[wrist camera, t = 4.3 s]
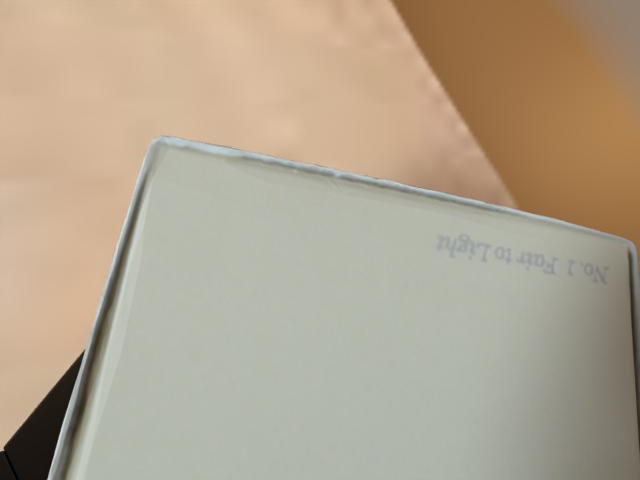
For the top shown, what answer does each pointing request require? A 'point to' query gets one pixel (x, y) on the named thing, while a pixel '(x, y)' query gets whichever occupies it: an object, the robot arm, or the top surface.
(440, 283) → the skincare box
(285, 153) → the top surface
